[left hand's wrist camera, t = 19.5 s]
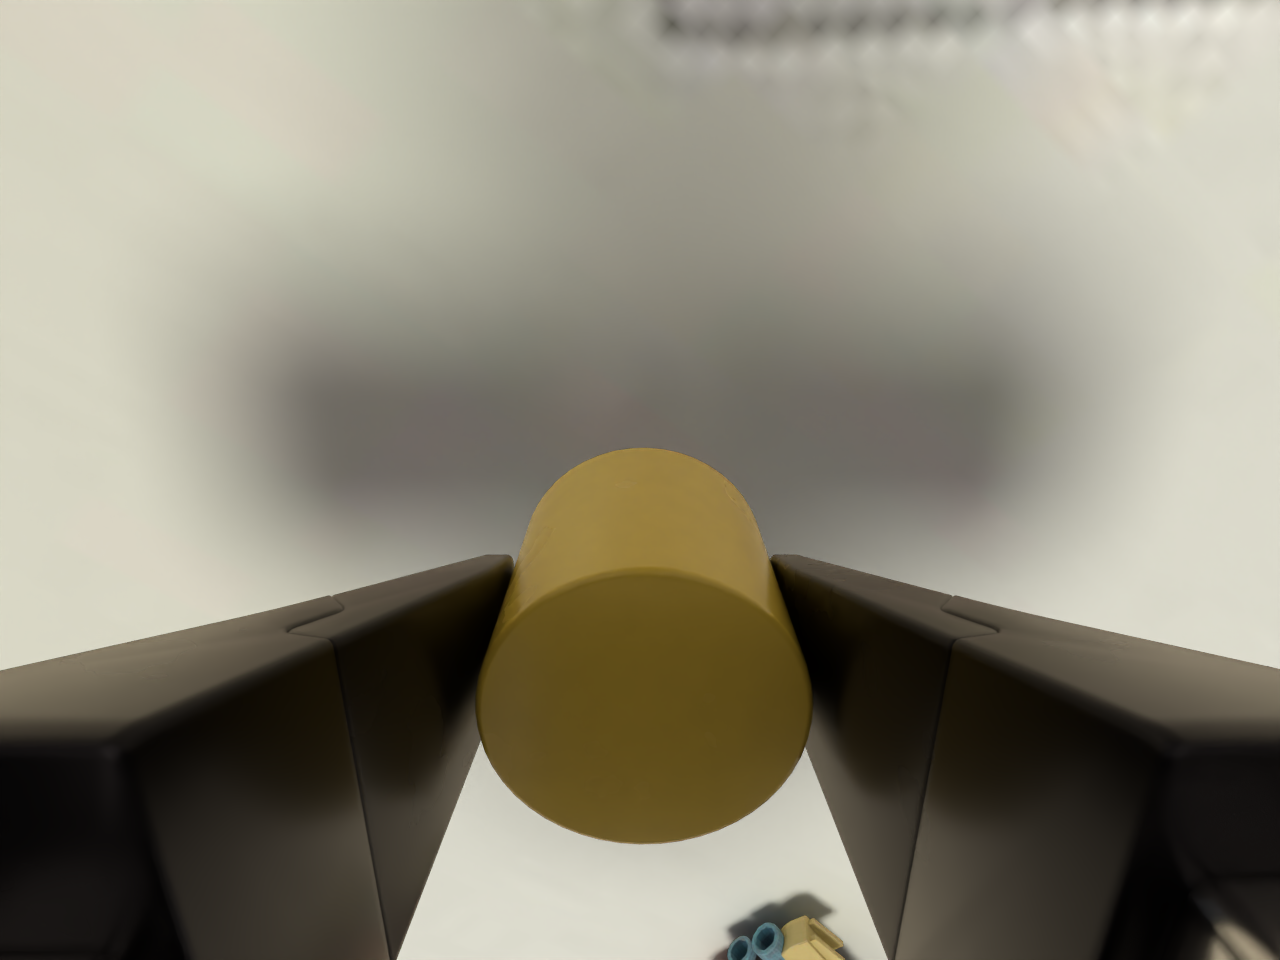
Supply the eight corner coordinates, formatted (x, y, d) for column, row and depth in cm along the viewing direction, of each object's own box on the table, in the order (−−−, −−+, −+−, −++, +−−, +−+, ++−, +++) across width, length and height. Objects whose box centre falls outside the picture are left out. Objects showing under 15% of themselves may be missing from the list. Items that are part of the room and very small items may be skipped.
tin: (671, 397, 11) (687, 500, 7) (805, 580, 12) (878, 749, 9) (475, 533, 12) (401, 689, 8) (619, 693, 13) (609, 892, 9)
